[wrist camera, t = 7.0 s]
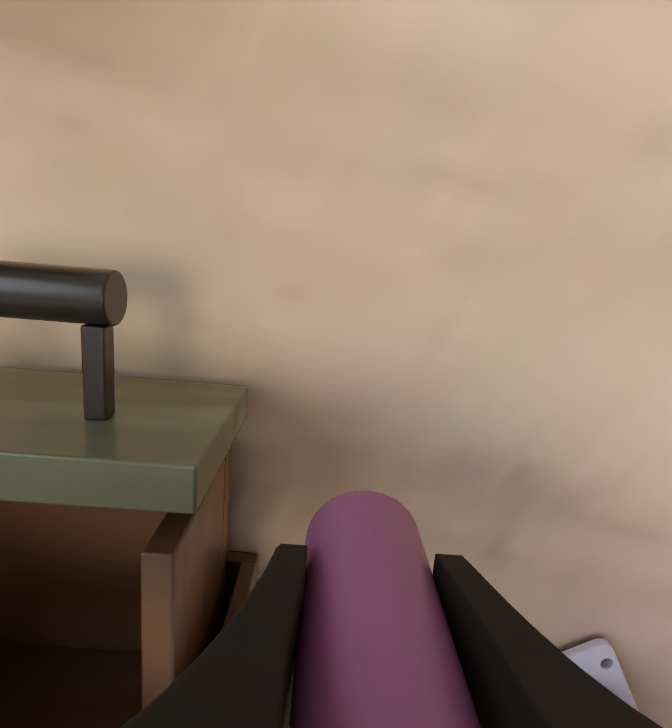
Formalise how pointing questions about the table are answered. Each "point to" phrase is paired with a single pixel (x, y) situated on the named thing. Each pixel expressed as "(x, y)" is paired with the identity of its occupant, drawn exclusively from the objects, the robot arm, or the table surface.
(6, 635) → the drawer
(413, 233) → the table surface
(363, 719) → the glue stick
